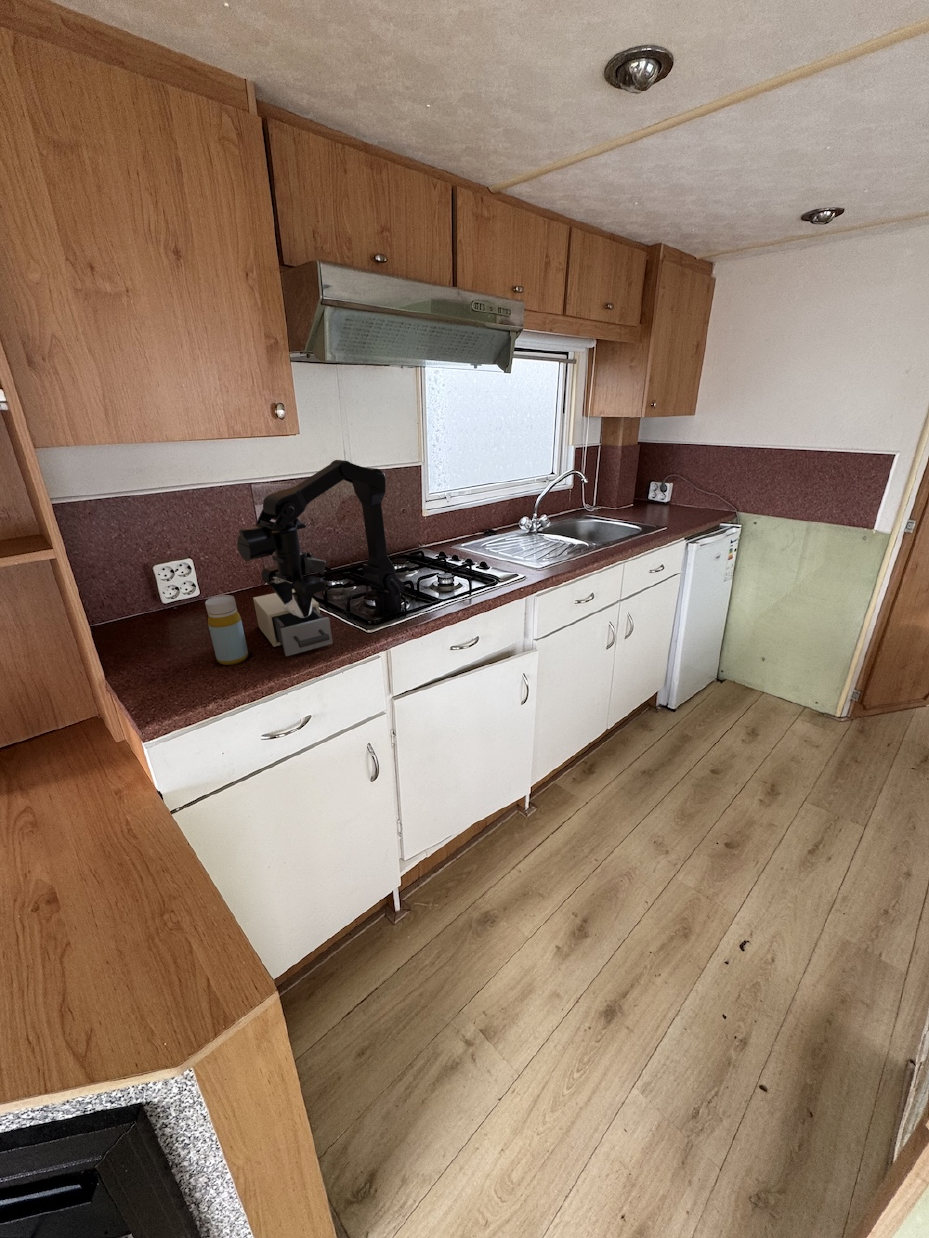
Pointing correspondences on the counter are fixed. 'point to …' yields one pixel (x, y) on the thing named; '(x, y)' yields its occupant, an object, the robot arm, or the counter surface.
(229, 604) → the bottle
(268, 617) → the small drawer cabinet
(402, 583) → the robot arm
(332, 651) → the counter surface
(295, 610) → the garlic bulb
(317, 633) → the grey drawer with handle
